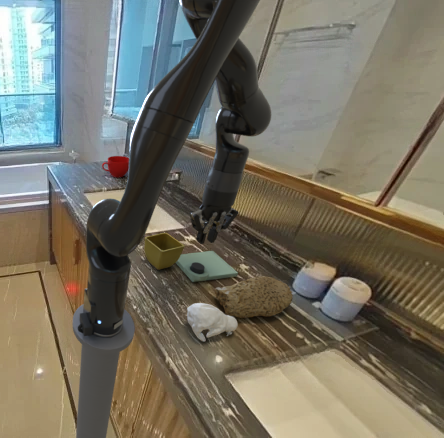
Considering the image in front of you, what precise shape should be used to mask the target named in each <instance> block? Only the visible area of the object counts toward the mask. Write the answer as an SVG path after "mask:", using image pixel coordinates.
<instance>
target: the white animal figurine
mask: <svg viewBox="0 0 444 438" xmlns="http://www.w3.org/2000/svg"><path fill="white" fill-rule="evenodd" d="M186 310H187V314H186V318H187V323H188V325H189V326H190V327H191V330H192V331H193V333H194V335H195V336H196V337H197V339H198V340H200V341H201V342H206V338H211V337H214V336H217V335H220V334H222V333H224V332H225V334H227V335H226V336H229V335H233V332H234V331H236V330H237V329H238V325H239V324H238V321H237V318H236V317H233V316H229V315H226V314H225V312H223V311H222V310H221V309H219V308H218V307H216V306H214V305H212V304H210V303H203V302H195V303H192V304H191V305H189V306H188V307H187V308H186ZM205 330H209V331H208V332H207V333H206V337H205V335H204V333H203V331H205Z"/></svg>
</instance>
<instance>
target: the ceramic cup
mask: <svg viewBox="0 0 444 438" xmlns="http://www.w3.org/2000/svg"><path fill="white" fill-rule="evenodd" d="M105 165H107V169H106V168H105ZM101 168H102V170H103V171H105V172H108V173H109V174H110V175H111V176H112V178H113V177H114V178H119V179H120V178H123V177H124V176H125V175H126V174H128V173H129V156H128V157H127V156H123V155H113V156H109V157H108V158H107V162H106V161H105V162H103V163H102V164H101Z"/></svg>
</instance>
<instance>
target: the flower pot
mask: <svg viewBox="0 0 444 438" xmlns="http://www.w3.org/2000/svg"><path fill="white" fill-rule="evenodd" d="M185 247H186V246H185V244H183V243H182V242H180V240H178V239H176V238H174V236H173V235H170V234H169V233H168V232H161V233H157V234H153V235H147V236H144V254H145V257H146V259H147V261H148V262H149V264H151V265H152V266H153V267H154V268H155V269H157V270H158V271H159V270H163V269H166V268H170V267H172V266H173V265H175V264H176V262H177V261H178V259H179V258H180V256H181V254H183V251H184V249H185Z"/></svg>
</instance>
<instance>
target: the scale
mask: <svg viewBox="0 0 444 438" xmlns="http://www.w3.org/2000/svg"><path fill="white" fill-rule="evenodd" d="M194 262H197V263H201V264H202V265H204V267H205V269H204V272H203V273H202V274H196V273H194V272H192V271H191V269H190V268H191V265H192V263H194ZM175 264H176V266H178V267H179V269H180V270H181V271H182V272H183V273H184V274H185V276H187V277H188V279H189V280H190V281H191V282H192V283H197V282H204V281H212V280H219V279H227V278H235V277H238V275H239V272H238V271H236V270H235V268H233V267H232V266H231V265H230V264H229V263H227V261H225V260H224V259H223V258H222V257H221V256H219V254H217V253H216V252H215V251H214V250H206V251H199V252H198V251H197V252H191V253H181V256H180V258H179V259H178V261H177V262H176V263H175Z"/></svg>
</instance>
